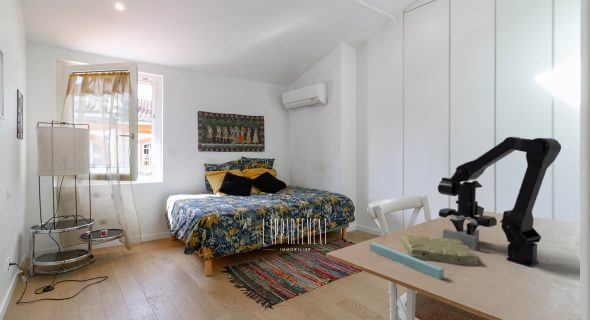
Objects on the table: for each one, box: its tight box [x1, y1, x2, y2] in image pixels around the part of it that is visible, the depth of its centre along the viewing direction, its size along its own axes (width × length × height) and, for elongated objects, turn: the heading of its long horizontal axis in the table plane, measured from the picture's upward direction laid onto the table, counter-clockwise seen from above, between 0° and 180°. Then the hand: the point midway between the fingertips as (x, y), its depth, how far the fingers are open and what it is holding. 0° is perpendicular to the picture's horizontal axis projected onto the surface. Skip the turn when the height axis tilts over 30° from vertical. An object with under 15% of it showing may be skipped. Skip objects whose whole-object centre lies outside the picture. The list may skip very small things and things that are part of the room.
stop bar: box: [369, 241, 445, 280], centre depth 93 cm, size 26×2×2 cm, turn 31°
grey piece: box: [442, 228, 480, 251], centre depth 111 cm, size 12×12×4 cm
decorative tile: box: [401, 235, 479, 266], centre depth 101 cm, size 19×20×4 cm
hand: (465, 239), depth 111 cm, fingers closed on grey piece, 2 cm apart
